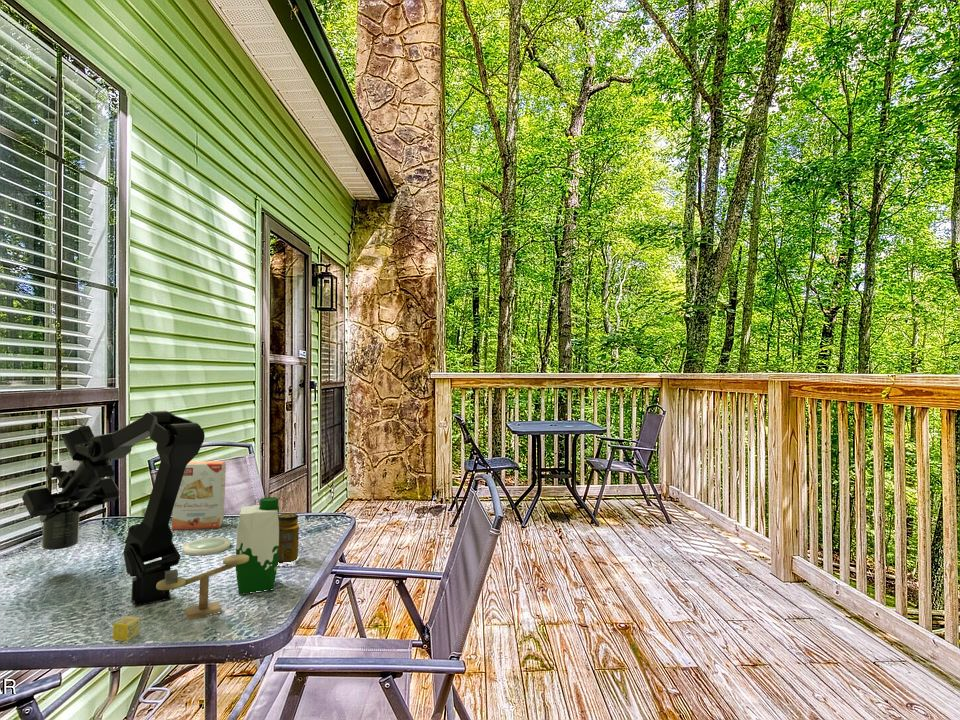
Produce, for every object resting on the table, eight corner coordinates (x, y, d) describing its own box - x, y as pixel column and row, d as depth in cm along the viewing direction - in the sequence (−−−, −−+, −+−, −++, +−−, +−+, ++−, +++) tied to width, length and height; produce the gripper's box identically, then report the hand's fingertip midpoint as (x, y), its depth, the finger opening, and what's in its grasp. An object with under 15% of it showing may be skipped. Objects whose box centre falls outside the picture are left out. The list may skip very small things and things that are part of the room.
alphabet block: (140, 633, 97) (141, 616, 97) (126, 641, 94) (127, 624, 94) (126, 632, 97) (127, 615, 97) (112, 640, 94) (112, 623, 94)
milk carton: (277, 591, 117) (280, 502, 118) (233, 597, 113) (236, 505, 114) (277, 578, 125) (279, 494, 126) (235, 582, 121) (239, 497, 122)
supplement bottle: (43, 544, 127) (46, 495, 127) (79, 540, 131) (81, 492, 131) (40, 552, 121) (42, 500, 122) (76, 547, 125) (79, 496, 126)
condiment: (303, 556, 141) (304, 512, 141) (292, 567, 132) (294, 520, 133) (275, 556, 140) (277, 511, 141) (263, 567, 132) (265, 520, 132)
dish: (226, 539, 154) (226, 534, 155) (234, 550, 145) (234, 545, 145) (180, 546, 147) (180, 541, 148) (185, 558, 138) (185, 552, 138)
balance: (244, 599, 113) (246, 552, 113) (249, 607, 108) (251, 559, 109) (153, 618, 103) (155, 567, 103) (155, 628, 99) (157, 575, 99)
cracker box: (170, 530, 162) (173, 463, 163) (177, 525, 168) (179, 461, 169) (219, 528, 166) (221, 462, 167) (224, 523, 172) (226, 460, 172)
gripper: (114, 446, 134) (86, 485, 138) (28, 454, 117) (-1, 499, 121) (133, 479, 131) (103, 518, 134) (47, 492, 113) (16, 537, 117)
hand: (58, 517), depth 127 cm, fingers closed on supplement bottle, 7 cm apart
